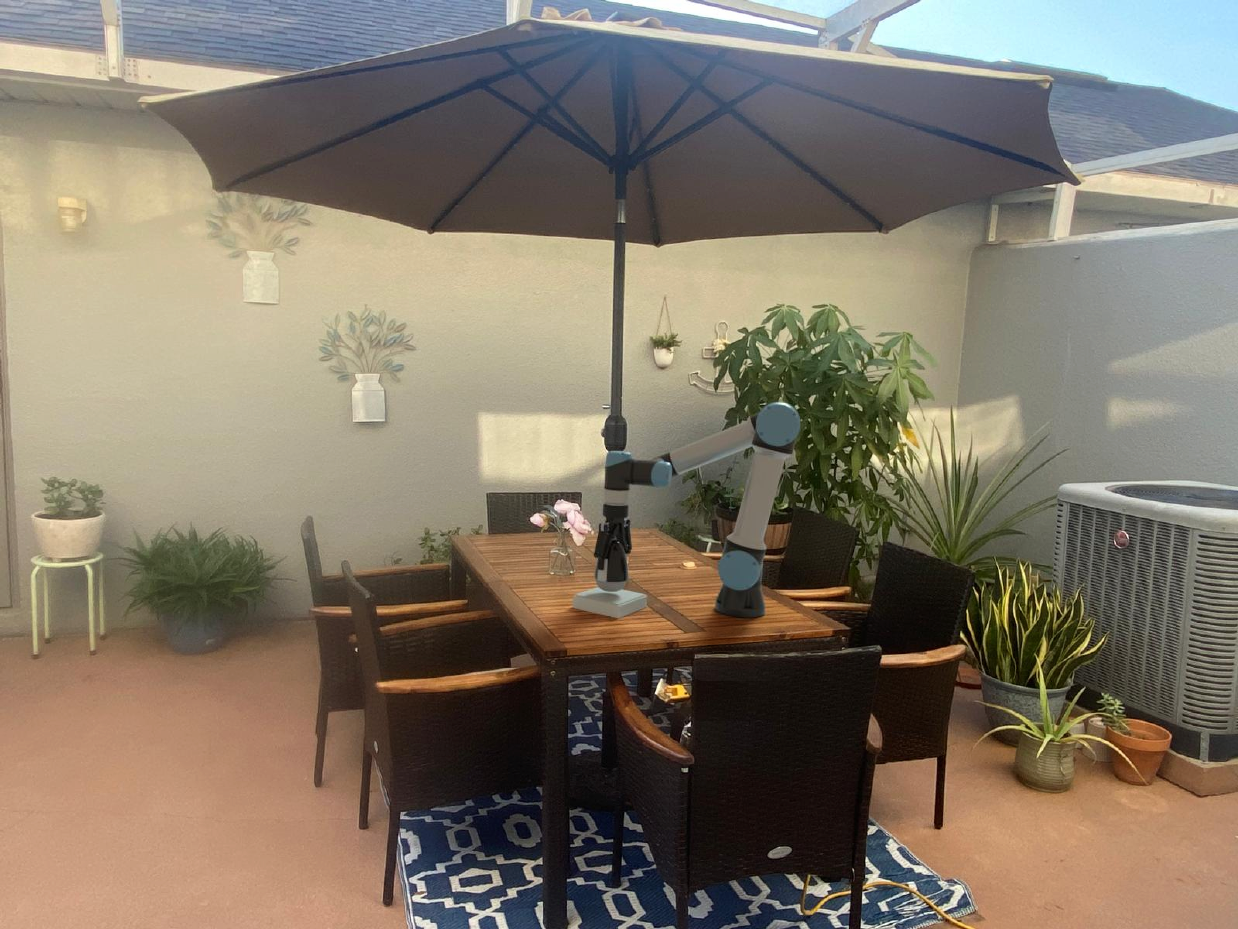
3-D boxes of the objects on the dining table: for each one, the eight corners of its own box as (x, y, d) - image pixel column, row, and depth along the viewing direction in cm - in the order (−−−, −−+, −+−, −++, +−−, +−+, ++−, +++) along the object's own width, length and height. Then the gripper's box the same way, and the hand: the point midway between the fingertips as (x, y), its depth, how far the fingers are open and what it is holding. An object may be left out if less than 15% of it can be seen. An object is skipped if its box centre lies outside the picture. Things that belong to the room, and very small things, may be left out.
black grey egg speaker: (598, 594, 241) (601, 543, 240) (590, 585, 251) (592, 536, 250) (632, 594, 244) (635, 543, 243) (622, 585, 254) (625, 536, 253)
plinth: (646, 607, 251) (647, 594, 250) (618, 618, 237) (618, 604, 237) (602, 597, 259) (602, 584, 259) (572, 607, 246) (573, 594, 245)
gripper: (625, 498, 257) (621, 569, 259) (583, 505, 237) (579, 581, 240) (646, 501, 253) (642, 573, 255) (605, 509, 234) (601, 586, 236)
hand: (611, 577), depth 247 cm, fingers closed on black grey egg speaker, 10 cm apart
